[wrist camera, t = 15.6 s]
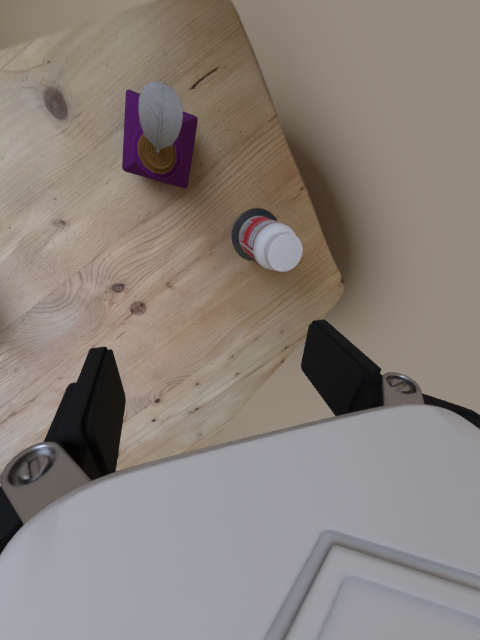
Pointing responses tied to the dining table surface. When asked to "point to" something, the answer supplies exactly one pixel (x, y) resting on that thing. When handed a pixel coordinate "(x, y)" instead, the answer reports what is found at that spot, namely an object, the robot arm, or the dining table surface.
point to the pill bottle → (270, 243)
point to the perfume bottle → (158, 135)
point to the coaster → (241, 221)
